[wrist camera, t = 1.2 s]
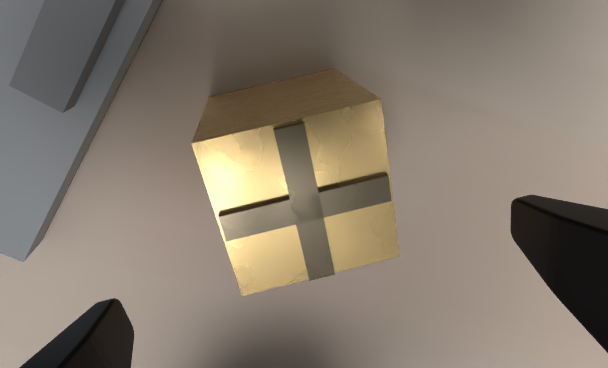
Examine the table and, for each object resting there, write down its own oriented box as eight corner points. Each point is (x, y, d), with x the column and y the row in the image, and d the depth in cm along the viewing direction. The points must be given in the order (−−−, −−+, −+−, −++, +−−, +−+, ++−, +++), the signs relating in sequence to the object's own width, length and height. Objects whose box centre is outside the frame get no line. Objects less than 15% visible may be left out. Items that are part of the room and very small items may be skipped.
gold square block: (352, 181, 18) (401, 260, 12) (242, 207, 18) (242, 300, 12) (333, 68, 16) (383, 100, 10) (209, 96, 16) (190, 145, 10)
